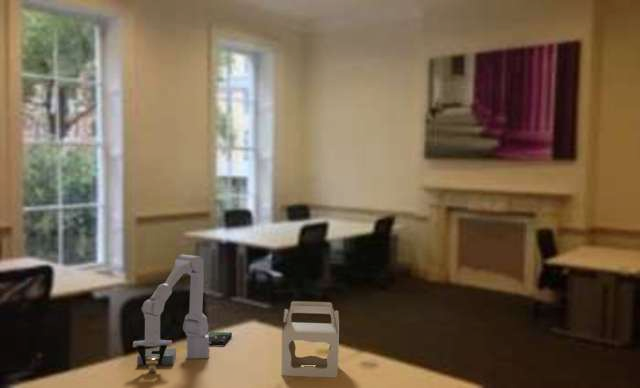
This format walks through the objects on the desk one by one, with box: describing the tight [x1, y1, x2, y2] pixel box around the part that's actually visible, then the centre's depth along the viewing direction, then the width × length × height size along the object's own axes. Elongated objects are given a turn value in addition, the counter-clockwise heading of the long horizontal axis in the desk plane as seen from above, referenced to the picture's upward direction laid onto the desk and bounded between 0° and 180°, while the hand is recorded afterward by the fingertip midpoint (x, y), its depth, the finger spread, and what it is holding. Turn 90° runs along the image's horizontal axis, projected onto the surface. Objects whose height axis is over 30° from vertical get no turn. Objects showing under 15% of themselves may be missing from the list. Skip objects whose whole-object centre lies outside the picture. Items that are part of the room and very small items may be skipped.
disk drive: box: [208, 331, 233, 347], centre depth 276 cm, size 10×3×15 cm
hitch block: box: [136, 348, 177, 367], centre depth 244 cm, size 14×10×4 cm
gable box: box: [281, 300, 340, 379], centre depth 236 cm, size 22×13×28 cm, turn 86°
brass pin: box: [145, 356, 160, 374], centre depth 233 cm, size 6×6×5 cm
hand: (152, 364), depth 233 cm, fingers closed on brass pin, 6 cm apart
